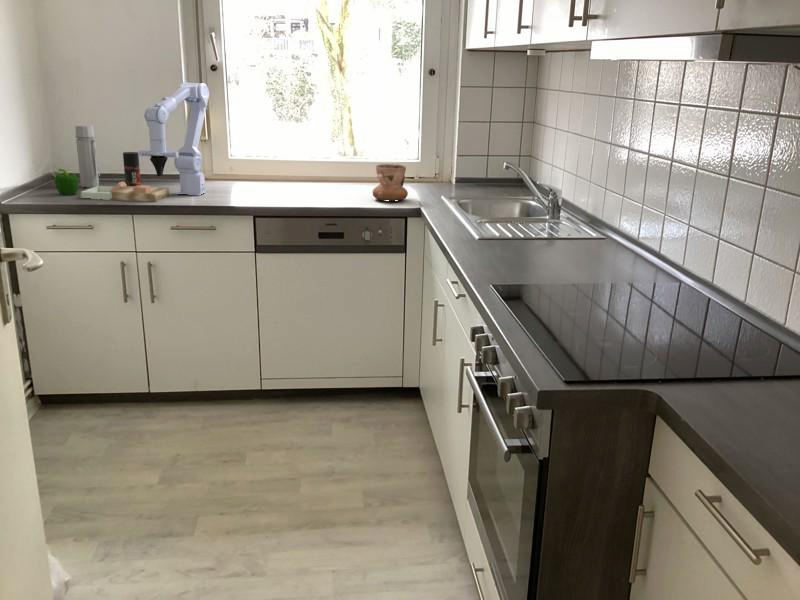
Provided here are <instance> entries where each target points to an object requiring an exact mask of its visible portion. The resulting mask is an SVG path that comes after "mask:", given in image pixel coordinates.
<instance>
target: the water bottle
mask: <svg viewBox="0 0 800 600" xmlns="http://www.w3.org/2000/svg"><path fill="white" fill-rule="evenodd" d="M74 128H75V142H76V150H77V161H78V170H79V181H80V187H82V188H84V187H86V188H85V189H90V188H93V187H96V186H100V181H99V179H100V178H99V177H101V166H100V161H99V158H98V157H99V156H98V150H97V146H96V140H97V137H95V131H94V126H93V125H92V124H76V125H75V127H74Z"/></svg>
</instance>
